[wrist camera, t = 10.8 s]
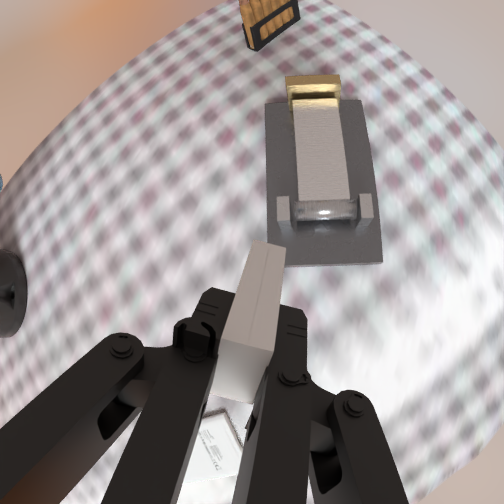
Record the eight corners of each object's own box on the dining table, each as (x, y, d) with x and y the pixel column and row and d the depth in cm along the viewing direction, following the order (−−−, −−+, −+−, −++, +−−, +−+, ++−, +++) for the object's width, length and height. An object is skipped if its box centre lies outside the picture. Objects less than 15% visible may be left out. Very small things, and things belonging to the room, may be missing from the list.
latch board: (379, 264, 32) (395, 254, 26) (269, 267, 34) (260, 259, 28) (359, 106, 35) (365, 74, 29) (266, 110, 38) (258, 79, 31)
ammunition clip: (256, 52, 40) (239, -8, 28) (247, 48, 40) (229, -11, 29) (300, 18, 40) (293, -39, 28) (291, 15, 40) (282, -41, 29)
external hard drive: (142, 431, 34) (226, 410, 33) (169, 482, 32) (254, 466, 31) (136, 435, 33) (222, 414, 31) (164, 487, 31) (251, 472, 30)
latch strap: (357, 215, 28) (341, 96, 31) (294, 217, 30) (287, 98, 32) (354, 221, 30) (340, 106, 33) (295, 223, 31) (289, 108, 34)
